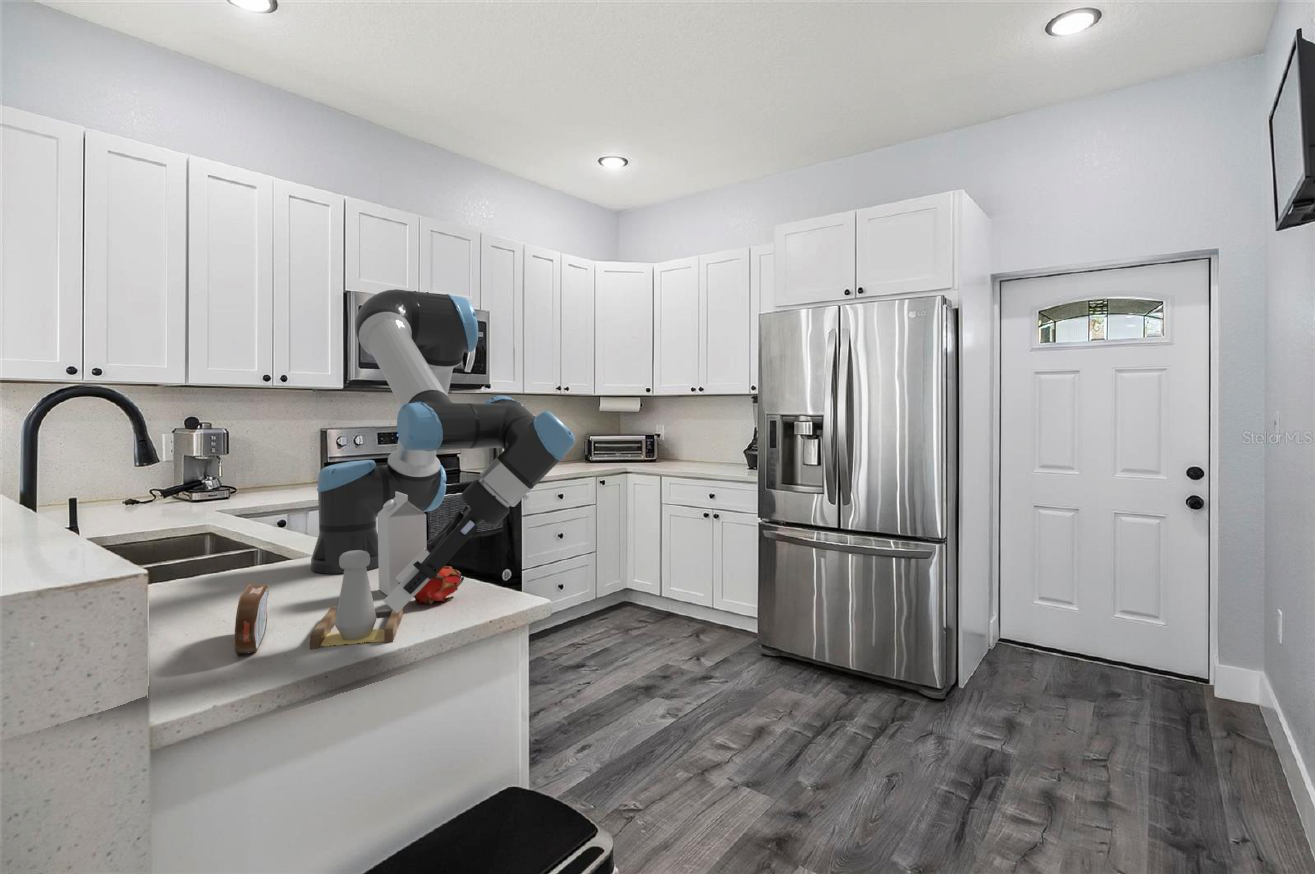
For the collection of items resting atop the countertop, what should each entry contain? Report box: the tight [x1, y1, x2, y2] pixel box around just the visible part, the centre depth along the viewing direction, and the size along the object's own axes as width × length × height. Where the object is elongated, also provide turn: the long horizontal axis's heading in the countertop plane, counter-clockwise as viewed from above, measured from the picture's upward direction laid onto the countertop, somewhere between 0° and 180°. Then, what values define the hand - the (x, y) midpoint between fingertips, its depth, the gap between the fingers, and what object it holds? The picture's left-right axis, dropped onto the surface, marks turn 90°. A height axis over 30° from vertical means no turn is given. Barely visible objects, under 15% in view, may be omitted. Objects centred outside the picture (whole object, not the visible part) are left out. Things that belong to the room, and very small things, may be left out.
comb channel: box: [309, 605, 405, 650], centre depth 107 cm, size 15×11×2 cm
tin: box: [234, 583, 269, 655], centre depth 100 cm, size 15×3×8 cm, turn 24°
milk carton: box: [377, 492, 428, 597], centre depth 129 cm, size 7×7×19 cm
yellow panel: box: [320, 628, 385, 647], centre depth 103 cm, size 5×9×1 cm, turn 105°
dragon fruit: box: [398, 565, 465, 605], centre depth 122 cm, size 8×8×12 cm
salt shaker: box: [334, 550, 377, 640], centre depth 103 cm, size 6×6×13 cm
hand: (396, 594), depth 103 cm, fingers open, 13 cm apart
